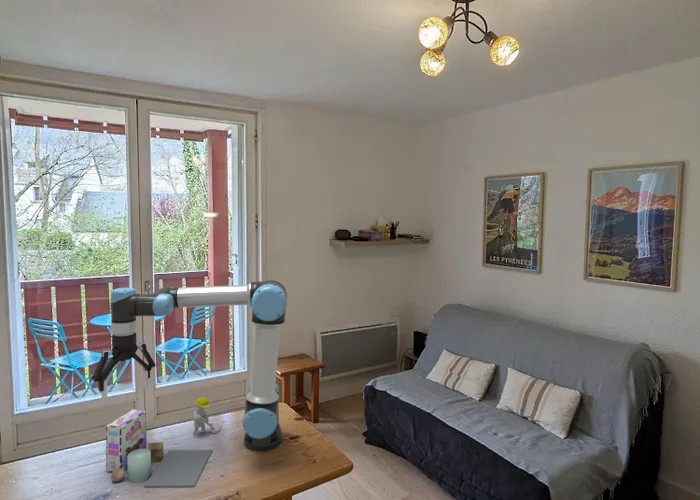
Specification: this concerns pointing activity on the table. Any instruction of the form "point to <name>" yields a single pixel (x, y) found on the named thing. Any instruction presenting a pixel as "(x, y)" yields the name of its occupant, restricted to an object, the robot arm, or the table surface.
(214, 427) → the figurine
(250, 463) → the table surface
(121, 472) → the cork ball
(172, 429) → the table surface
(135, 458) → the pale green rounded cylinder
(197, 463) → the felt mat
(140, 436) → the candy box
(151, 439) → the table surface
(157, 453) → the walnut block
